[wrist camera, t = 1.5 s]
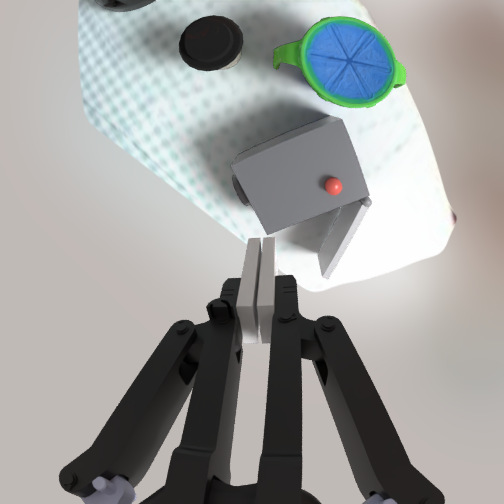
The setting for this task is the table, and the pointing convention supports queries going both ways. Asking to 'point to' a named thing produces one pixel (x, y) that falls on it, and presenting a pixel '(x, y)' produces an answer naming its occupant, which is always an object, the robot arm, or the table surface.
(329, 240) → the door
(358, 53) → the snack cup
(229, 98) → the table surface
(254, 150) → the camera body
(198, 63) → the coffee cup
